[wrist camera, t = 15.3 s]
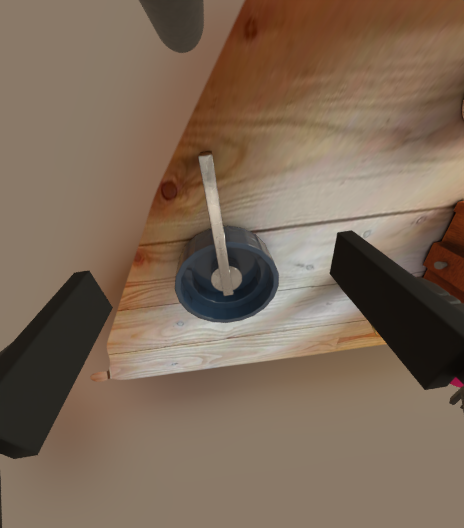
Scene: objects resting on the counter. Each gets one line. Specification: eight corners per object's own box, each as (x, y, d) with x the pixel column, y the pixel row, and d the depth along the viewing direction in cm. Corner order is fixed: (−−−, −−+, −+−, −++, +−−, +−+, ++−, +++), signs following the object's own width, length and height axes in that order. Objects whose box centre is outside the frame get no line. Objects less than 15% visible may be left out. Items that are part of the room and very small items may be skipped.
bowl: (168, 232, 32) (161, 252, 27) (268, 217, 32) (279, 234, 27) (191, 304, 41) (189, 328, 36) (269, 291, 41) (278, 314, 36)
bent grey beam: (241, 278, 37) (247, 305, 31) (213, 283, 37) (214, 310, 31) (225, 148, 26) (230, 151, 20) (186, 154, 26) (179, 158, 20)
